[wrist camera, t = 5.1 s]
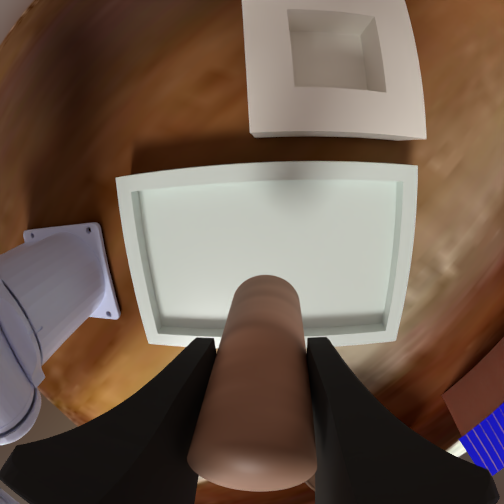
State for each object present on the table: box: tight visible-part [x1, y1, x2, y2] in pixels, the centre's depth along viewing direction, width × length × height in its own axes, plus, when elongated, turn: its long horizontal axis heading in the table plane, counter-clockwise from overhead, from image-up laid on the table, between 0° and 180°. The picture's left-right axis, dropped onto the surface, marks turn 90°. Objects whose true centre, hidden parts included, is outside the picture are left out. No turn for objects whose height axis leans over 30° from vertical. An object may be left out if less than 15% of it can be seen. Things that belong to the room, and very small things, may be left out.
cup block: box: [242, 0, 426, 141], centre depth 12 cm, size 9×9×4 cm
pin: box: [187, 275, 317, 491], centre depth 9 cm, size 3×3×8 cm
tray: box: [116, 161, 418, 348], centre depth 18 cm, size 18×12×2 cm, turn 93°
